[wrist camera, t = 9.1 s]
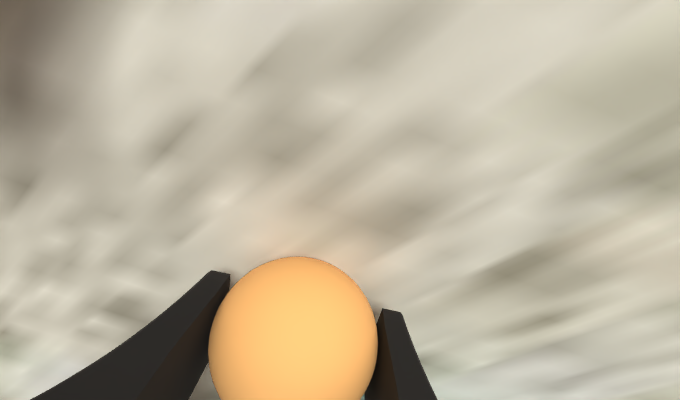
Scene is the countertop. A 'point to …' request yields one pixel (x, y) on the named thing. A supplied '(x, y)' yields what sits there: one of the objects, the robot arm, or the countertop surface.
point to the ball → (293, 335)
